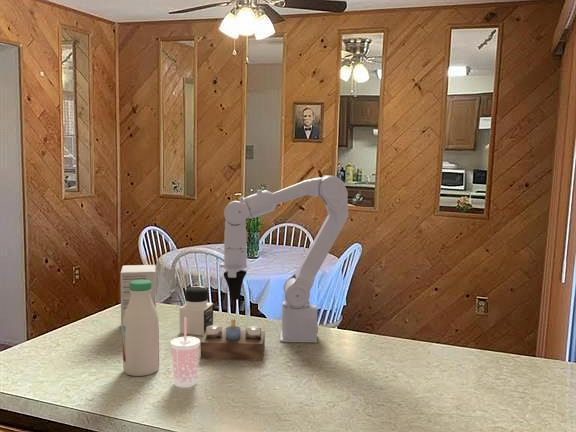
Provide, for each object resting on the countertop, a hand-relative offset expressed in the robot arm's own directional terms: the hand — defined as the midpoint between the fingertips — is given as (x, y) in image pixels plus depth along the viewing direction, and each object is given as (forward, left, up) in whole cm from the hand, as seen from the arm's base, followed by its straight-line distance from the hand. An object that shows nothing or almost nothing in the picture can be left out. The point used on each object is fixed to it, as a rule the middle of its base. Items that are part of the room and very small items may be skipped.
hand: (235, 298), depth 140 cm
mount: (-1, +11, -10) cm, 15 cm away
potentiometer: (-1, +12, -6) cm, 14 cm away
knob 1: (+4, +11, -10) cm, 15 cm away
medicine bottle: (+11, -5, -11) cm, 16 cm away
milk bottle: (+18, +23, -11) cm, 31 cm away
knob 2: (-6, +11, -10) cm, 16 cm away
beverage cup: (+7, +29, -11) cm, 32 cm away
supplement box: (+27, -6, -11) cm, 30 cm away
